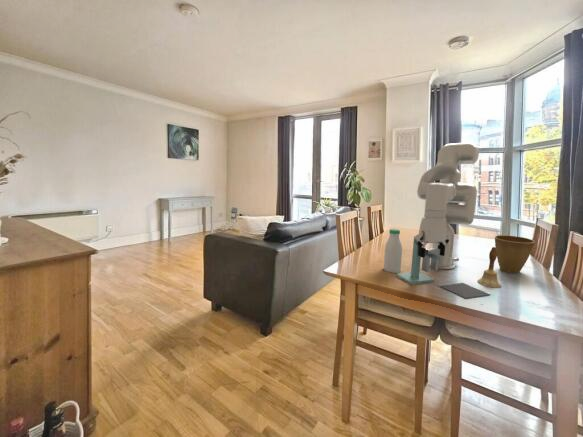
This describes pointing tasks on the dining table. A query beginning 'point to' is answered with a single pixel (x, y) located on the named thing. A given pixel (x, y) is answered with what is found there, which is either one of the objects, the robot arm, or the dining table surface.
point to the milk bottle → (393, 252)
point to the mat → (464, 290)
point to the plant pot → (512, 252)
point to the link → (433, 261)
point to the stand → (416, 269)
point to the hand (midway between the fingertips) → (431, 255)
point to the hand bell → (490, 272)
